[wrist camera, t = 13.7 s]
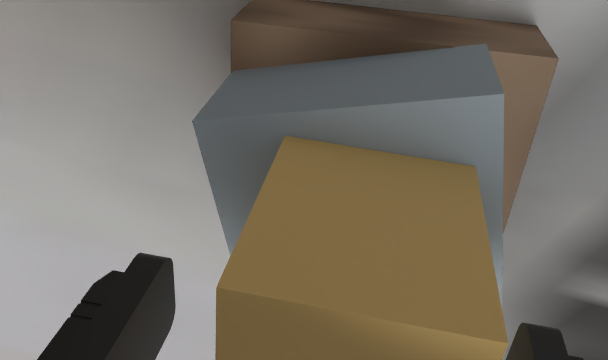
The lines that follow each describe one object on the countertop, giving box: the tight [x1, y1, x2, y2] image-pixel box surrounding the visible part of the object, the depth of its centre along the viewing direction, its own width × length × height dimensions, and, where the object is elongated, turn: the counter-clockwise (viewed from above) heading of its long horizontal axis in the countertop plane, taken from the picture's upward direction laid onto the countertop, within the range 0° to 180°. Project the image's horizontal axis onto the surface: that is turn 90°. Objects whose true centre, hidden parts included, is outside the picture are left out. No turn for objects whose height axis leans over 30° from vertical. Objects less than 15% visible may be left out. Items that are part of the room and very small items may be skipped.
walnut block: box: [231, 0, 558, 233], centre depth 21 cm, size 10×10×4 cm
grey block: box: [192, 44, 504, 307], centre depth 18 cm, size 8×8×4 cm
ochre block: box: [216, 136, 508, 360], centre depth 13 cm, size 5×5×6 cm
